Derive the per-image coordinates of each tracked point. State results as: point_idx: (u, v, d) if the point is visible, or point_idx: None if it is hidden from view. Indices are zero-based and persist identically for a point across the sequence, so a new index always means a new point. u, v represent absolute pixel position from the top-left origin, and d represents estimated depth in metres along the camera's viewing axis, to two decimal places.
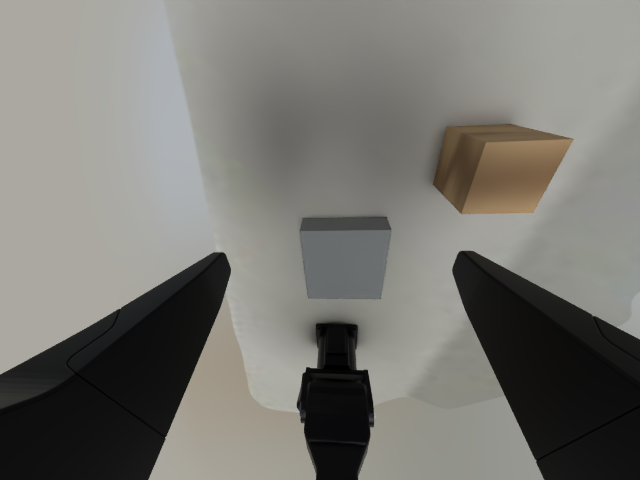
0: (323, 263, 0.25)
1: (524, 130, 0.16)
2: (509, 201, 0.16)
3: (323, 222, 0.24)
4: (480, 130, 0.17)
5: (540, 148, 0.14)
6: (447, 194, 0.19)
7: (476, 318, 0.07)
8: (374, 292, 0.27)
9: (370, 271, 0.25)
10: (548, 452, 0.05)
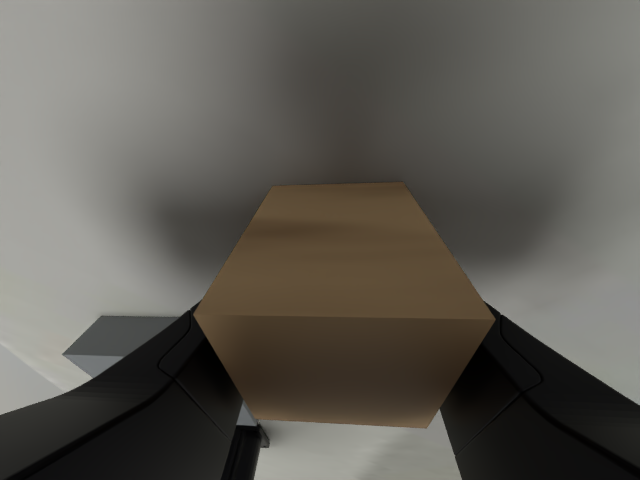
0: None
1: (401, 219, 0.06)
2: (357, 411, 0.06)
3: (123, 329, 0.14)
4: (308, 209, 0.07)
5: (386, 333, 0.04)
6: None
7: None
8: (241, 419, 0.17)
9: None
10: (462, 447, 0.05)
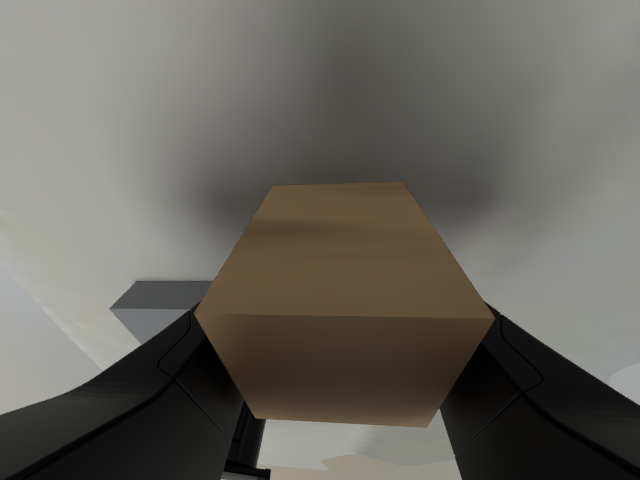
0: None
1: (401, 219, 0.06)
2: (357, 411, 0.06)
3: (156, 290, 0.16)
4: (308, 209, 0.07)
5: (386, 333, 0.04)
6: None
7: None
8: None
9: None
10: (462, 447, 0.05)
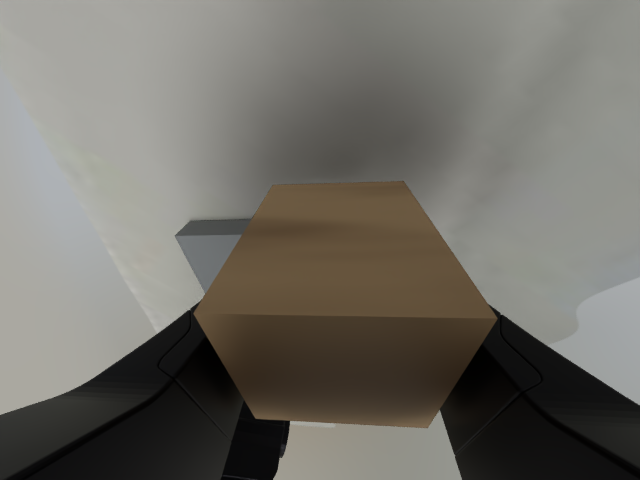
0: (214, 271, 0.22)
1: (401, 218, 0.06)
2: (357, 411, 0.06)
3: (208, 225, 0.21)
4: (308, 208, 0.07)
5: (388, 333, 0.04)
6: None
7: None
8: None
9: None
10: (462, 447, 0.05)
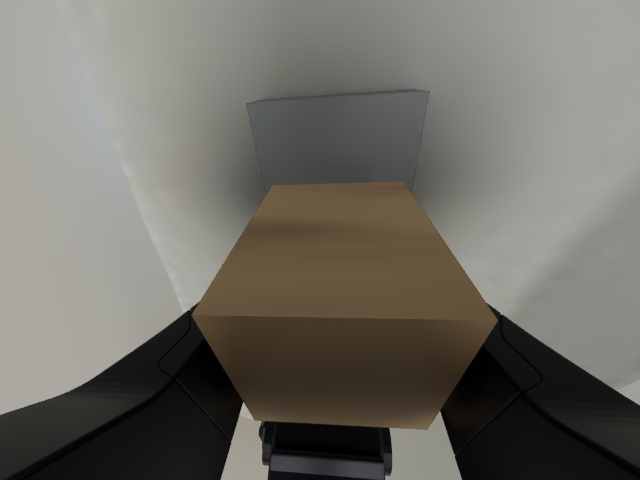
0: (298, 182, 0.14)
1: (401, 219, 0.06)
2: (357, 413, 0.06)
3: (296, 98, 0.13)
4: (308, 209, 0.07)
5: (387, 334, 0.04)
6: None
7: None
8: None
9: None
10: (462, 447, 0.05)
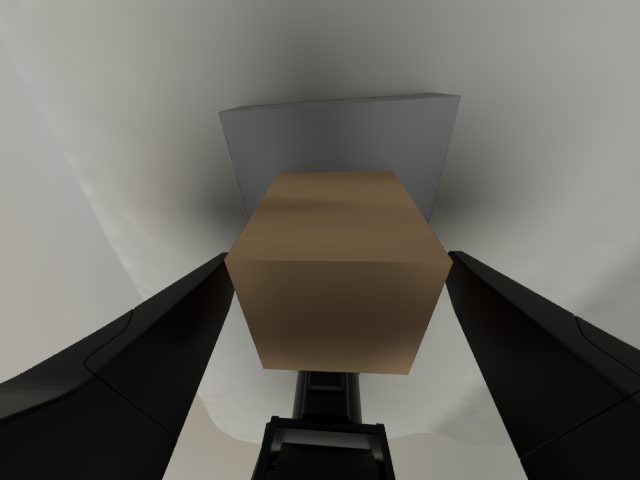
0: None
1: (388, 198, 0.07)
2: (350, 357, 0.07)
3: (285, 104, 0.10)
4: (311, 191, 0.08)
5: (373, 276, 0.05)
6: None
7: (464, 318, 0.07)
8: None
9: None
10: (531, 452, 0.05)
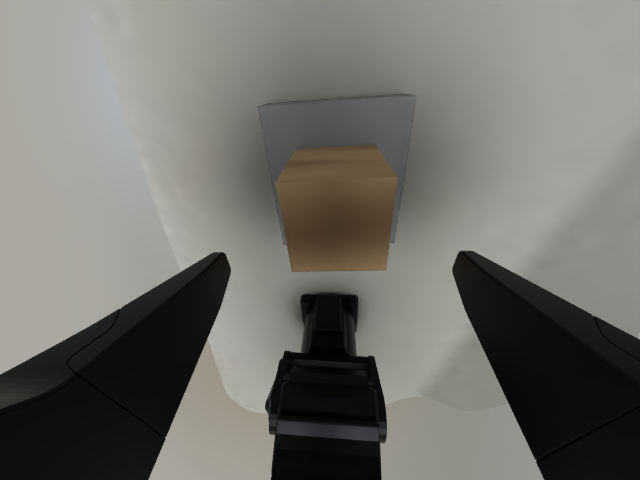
0: None
1: (369, 156, 0.12)
2: (347, 256, 0.11)
3: (300, 101, 0.14)
4: (319, 156, 0.12)
5: (356, 189, 0.09)
6: None
7: (476, 318, 0.07)
8: None
9: None
10: (548, 452, 0.05)
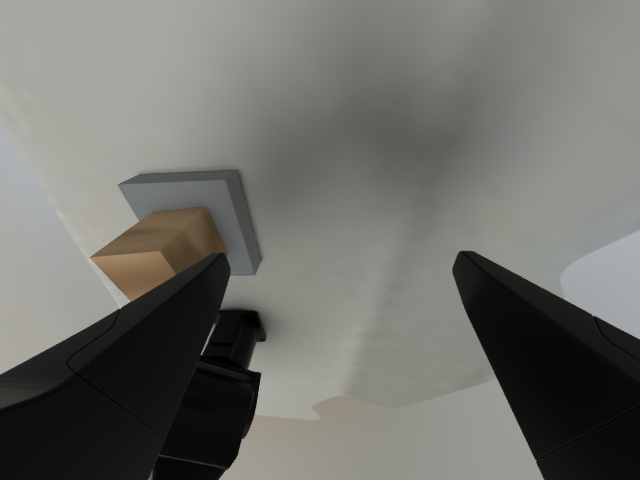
0: None
1: (178, 225, 0.16)
2: None
3: (157, 176, 0.19)
4: (152, 223, 0.17)
5: (140, 258, 0.14)
6: None
7: (476, 318, 0.07)
8: (243, 266, 0.22)
9: (225, 238, 0.20)
10: (548, 452, 0.05)
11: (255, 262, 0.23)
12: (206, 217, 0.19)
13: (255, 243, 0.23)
